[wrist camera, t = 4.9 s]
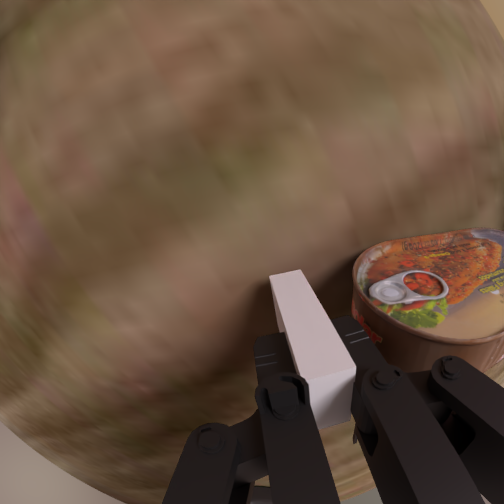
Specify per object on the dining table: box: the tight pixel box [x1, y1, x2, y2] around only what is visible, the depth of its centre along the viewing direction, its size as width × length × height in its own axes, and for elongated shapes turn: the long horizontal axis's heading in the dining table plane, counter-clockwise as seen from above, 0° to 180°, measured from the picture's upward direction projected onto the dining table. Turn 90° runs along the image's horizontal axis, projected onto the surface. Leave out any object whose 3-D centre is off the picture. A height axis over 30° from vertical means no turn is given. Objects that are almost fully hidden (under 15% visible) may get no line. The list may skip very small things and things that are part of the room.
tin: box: [352, 228, 504, 373], centre depth 10 cm, size 15×3×8 cm, turn 96°
